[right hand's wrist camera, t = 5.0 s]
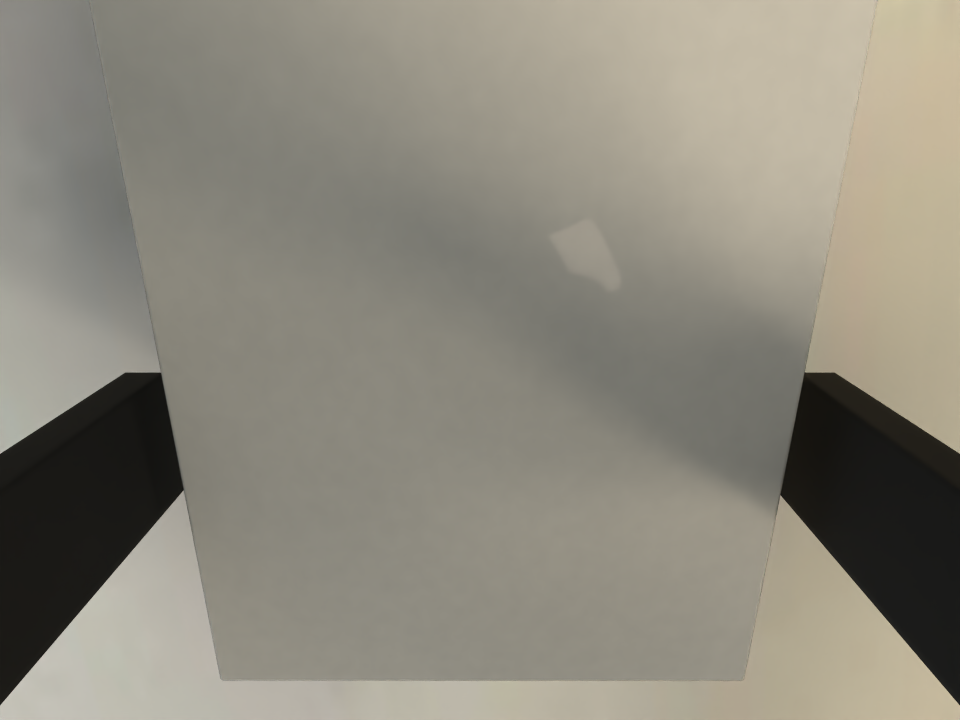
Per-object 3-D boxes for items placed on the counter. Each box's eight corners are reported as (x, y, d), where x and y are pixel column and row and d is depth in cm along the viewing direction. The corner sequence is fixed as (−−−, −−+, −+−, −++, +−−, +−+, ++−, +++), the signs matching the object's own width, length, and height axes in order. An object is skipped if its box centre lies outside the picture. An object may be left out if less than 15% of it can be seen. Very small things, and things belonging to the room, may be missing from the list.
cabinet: (267, -316, 15) (-157, -1245, 5) (696, -316, 15) (1128, -1245, 5) (336, 443, 22) (219, 682, 12) (626, 443, 22) (745, 682, 12)
